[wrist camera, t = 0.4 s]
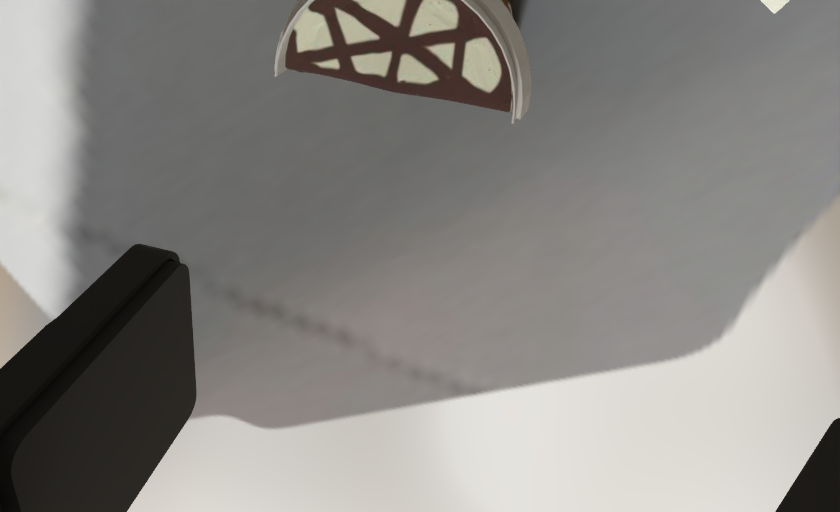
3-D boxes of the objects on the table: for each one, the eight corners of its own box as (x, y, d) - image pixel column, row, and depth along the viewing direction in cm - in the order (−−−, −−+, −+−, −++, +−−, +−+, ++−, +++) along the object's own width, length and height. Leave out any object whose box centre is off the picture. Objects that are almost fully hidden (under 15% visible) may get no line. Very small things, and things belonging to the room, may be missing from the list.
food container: (565, -60, 37) (556, -15, 29) (539, 56, 40) (525, 126, 32) (334, -100, 38) (263, -68, 30) (328, 16, 42) (263, 74, 33)
